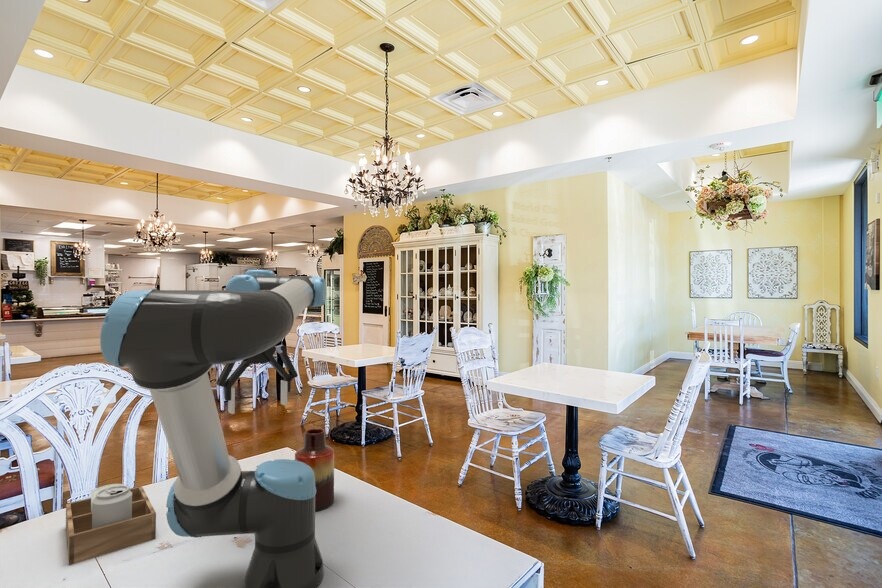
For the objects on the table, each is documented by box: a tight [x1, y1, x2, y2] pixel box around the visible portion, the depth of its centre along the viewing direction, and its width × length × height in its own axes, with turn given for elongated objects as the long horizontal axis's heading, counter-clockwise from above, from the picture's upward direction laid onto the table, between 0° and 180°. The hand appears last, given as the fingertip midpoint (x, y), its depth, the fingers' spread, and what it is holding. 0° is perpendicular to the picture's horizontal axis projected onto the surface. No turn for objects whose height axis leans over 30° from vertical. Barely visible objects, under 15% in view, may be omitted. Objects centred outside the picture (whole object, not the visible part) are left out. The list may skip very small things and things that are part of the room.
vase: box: [294, 428, 335, 513], centre depth 124 cm, size 11×11×20 cm
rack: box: [65, 485, 157, 566], centre depth 106 cm, size 20×16×7 cm
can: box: [92, 484, 132, 529], centre depth 102 cm, size 8×8×12 cm
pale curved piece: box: [90, 483, 124, 512], centre depth 109 cm, size 7×7×9 cm
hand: (258, 408), depth 116 cm, fingers open, 13 cm apart
